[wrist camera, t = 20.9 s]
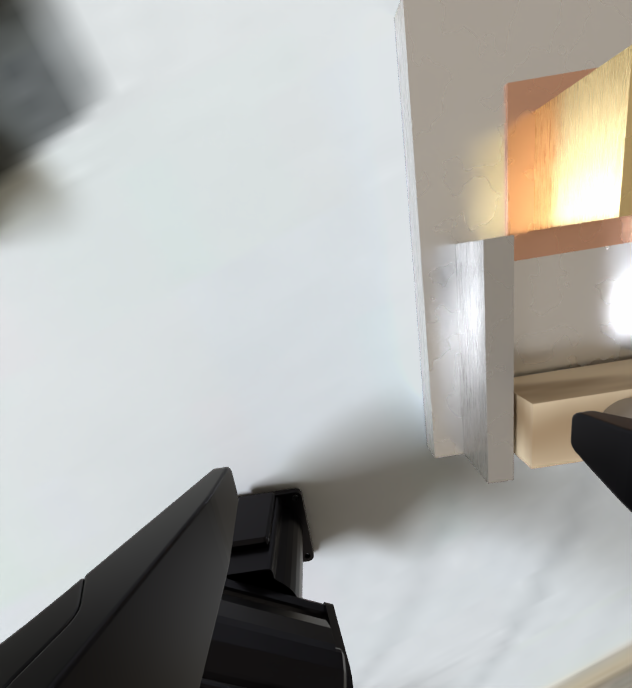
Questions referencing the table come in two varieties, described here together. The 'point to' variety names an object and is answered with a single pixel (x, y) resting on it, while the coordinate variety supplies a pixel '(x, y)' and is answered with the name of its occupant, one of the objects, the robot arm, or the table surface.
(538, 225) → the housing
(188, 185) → the table surface
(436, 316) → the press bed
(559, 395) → the ram
